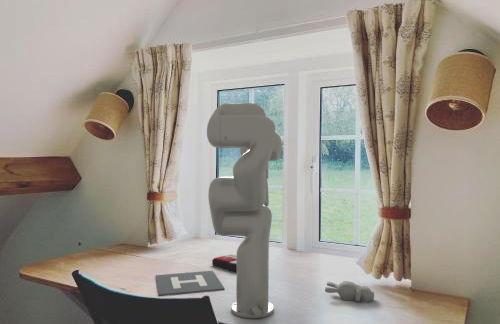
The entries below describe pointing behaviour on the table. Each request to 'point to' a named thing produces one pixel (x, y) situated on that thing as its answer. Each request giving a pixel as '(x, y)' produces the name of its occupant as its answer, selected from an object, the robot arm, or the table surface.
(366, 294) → the bunny figurine
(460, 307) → the table surface
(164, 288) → the letter mat
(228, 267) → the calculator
